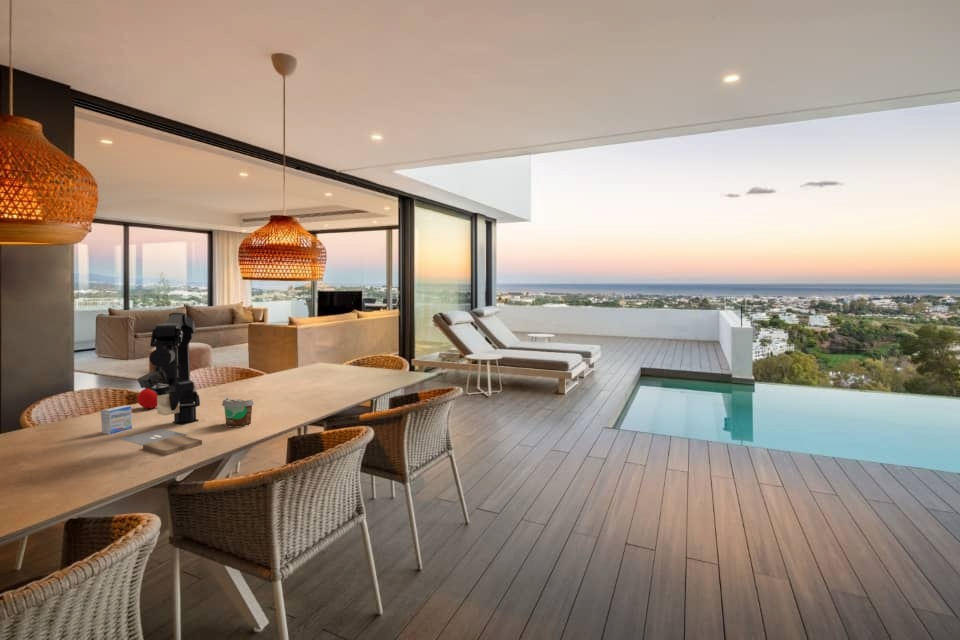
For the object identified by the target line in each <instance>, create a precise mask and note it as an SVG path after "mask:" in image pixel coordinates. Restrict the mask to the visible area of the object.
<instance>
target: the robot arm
mask: <svg viewBox="0 0 960 640" xmlns="http://www.w3.org/2000/svg"><path fill="white" fill-rule="evenodd" d="M195 334H196V324H195V321H194V319H192V318H190V317H189V316H188V315H187V313H186V312H171V313H170V312H169V315H168V318H167V319H166V321H164V323H163V322H162V323H158V324H156V325H155V327H154V328H152V333H151V339H150V347H153V348H154V347H155V349H154V350H153V351H151V353H150V355H149V361H150V363H151V365H153V366H154V367H153V371H151V372H149V373H147V374H145V375H142V376H140V377H137V382H138V384H139V387H140V388H141V389H143V388H144V389H150V390H152V391H153V392H155V393H156V394H157V396H159V395H165V394H168V395H169V399H170V406H171V410H175V409H176V407H177V405H178V403H179V405H180V413H175V414H173V415H174V416H173V417H174V420H173V421H172V424H178V425H181V426H185V425H188V424H193V423H195V422H199V421H200V420H199V419H197V408H198V407H199V406H201V401H200V400H201V399H200V395H199V394H198V391H196V386H195V382H193V380H191V363H190V362H191V361H190V343H191V342H192V340H193V338H194V335H195Z"/></svg>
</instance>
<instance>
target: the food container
mask: <svg viewBox="0 0 960 640" xmlns="http://www.w3.org/2000/svg"><path fill="white" fill-rule="evenodd" d="M221 405H222V406H223V407H224V414H225V415H224V416H225V424H226V426H227V427H228V426H231V427H230V428H237V427H236V426H243V427H246V426H245V425H248V426H250V425H249V424H251V422H252V411H253V405H255V404H254V401H253V399H248V400H244V399H243V400H242V399H229V397H227V396H226V397H224V399H223V400H222V404H221Z"/></svg>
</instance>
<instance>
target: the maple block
mask: <svg viewBox="0 0 960 640" xmlns="http://www.w3.org/2000/svg"><path fill="white" fill-rule="evenodd" d="M156 412H157V415H162V416H170V415H174V414H175V413H180V405H179V403H178V405H177V407H176V409H175V410H171V406H170V399H169V395H168V394H165V395H159V396H157V411H156Z"/></svg>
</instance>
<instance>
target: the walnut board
mask: <svg viewBox="0 0 960 640" xmlns="http://www.w3.org/2000/svg"><path fill="white" fill-rule="evenodd" d="M201 444H202V445H203V440H202V439H198V438H194V437H191V436H182V435H177V436H173V437H170V438H166V439H162V440H159V441H155V442H151V443H148V444H144V445H142V449H143V450H146V451H150V452H153V453H158V454H161V455H164V454H165V455H164V456H167V455H166V454H169V455H171V454H170V453H172V454H174V453H173V452H176V453H178V452H177V451H179V452H181V451H180V450H182V451H185V450H184V449H186V450H188V449H187V448H189V449H192V448H195V446H196V447H199V446H202V445H201ZM198 445H199V446H198ZM191 447H192V448H191Z"/></svg>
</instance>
